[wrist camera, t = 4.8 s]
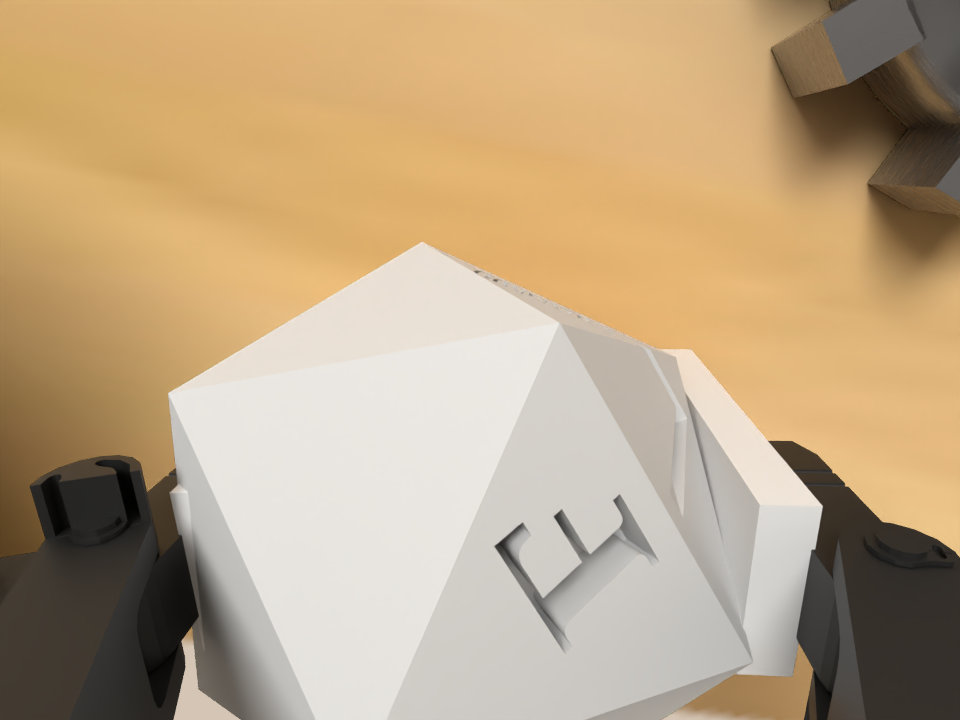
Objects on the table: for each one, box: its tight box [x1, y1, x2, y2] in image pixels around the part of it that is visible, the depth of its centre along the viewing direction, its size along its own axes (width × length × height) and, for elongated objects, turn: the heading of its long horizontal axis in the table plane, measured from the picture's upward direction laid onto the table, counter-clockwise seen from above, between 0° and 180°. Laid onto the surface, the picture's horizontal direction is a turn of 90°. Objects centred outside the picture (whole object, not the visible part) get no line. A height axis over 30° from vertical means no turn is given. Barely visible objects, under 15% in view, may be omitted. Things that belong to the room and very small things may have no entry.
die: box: [168, 242, 753, 720], centre depth 10 cm, size 8×9×10 cm
